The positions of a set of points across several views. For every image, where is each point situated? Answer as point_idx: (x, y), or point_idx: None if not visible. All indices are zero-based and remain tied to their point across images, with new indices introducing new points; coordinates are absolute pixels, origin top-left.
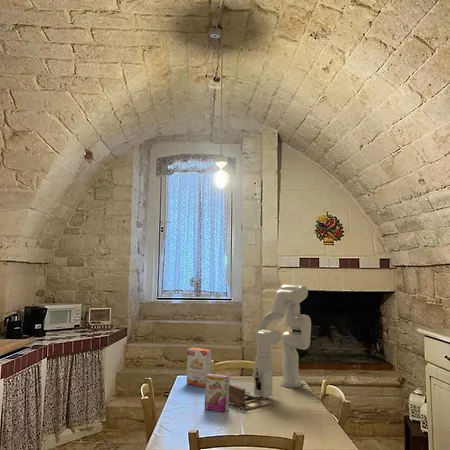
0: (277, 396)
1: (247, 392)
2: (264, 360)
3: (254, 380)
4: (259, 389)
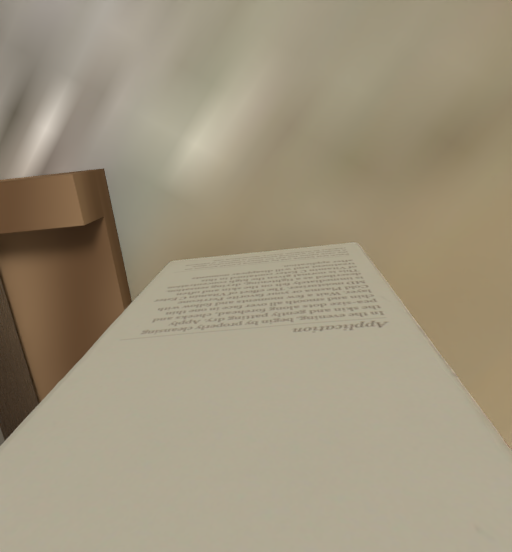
0: (496, 388)
1: (50, 209)
2: None
3: (57, 390)
4: None
